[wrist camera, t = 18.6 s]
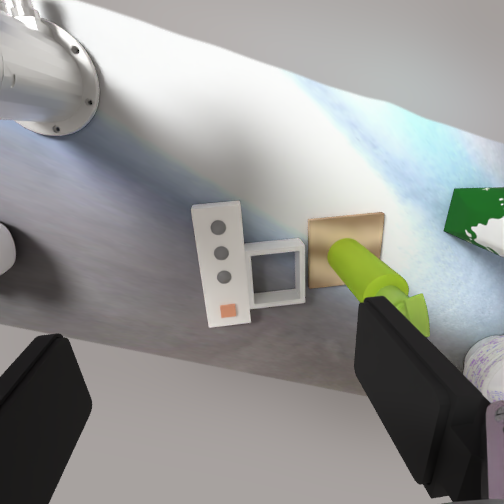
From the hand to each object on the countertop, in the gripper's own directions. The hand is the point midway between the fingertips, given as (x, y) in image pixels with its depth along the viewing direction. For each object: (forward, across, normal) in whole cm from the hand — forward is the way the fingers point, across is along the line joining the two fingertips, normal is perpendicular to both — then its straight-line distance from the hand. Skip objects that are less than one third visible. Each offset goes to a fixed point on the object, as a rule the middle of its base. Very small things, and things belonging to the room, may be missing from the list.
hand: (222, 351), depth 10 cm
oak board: (+36, -19, +13) cm, 43 cm away
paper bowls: (+37, -51, +40) cm, 74 cm away
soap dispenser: (+36, -19, +13) cm, 42 cm away
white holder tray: (+36, -3, +13) cm, 39 cm away
